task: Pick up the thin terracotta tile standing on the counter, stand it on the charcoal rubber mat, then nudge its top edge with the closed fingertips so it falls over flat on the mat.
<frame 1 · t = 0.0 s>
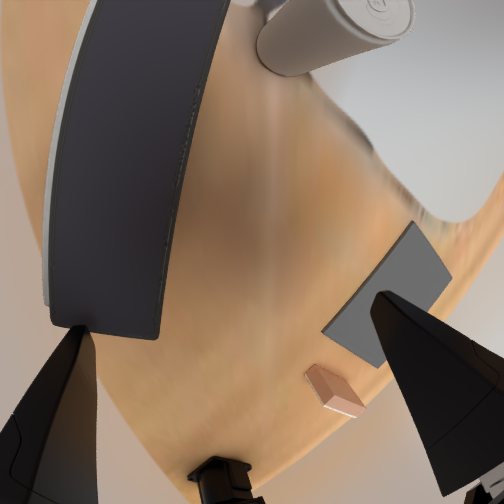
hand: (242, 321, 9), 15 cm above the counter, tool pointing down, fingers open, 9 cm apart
tile: (326, 376, 33), on the counter
beverage can: (284, 49, 21), on the counter
mat: (395, 302, 32), on the counter
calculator: (146, 142, 21), on the counter
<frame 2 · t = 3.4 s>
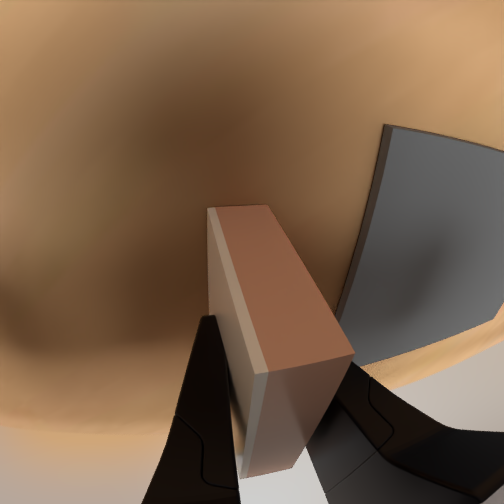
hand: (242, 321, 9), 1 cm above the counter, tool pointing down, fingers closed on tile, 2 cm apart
tile: (236, 292, 10), on the counter, touching gripper
mat: (467, 260, 13), on the counter
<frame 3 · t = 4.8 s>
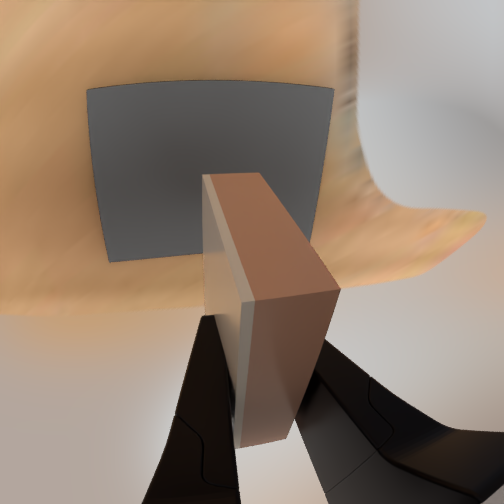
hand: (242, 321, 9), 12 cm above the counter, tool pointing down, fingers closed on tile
tile: (231, 261, 10), point 10 cm above the counter, touching gripper
mat: (212, 171, 19), on the counter
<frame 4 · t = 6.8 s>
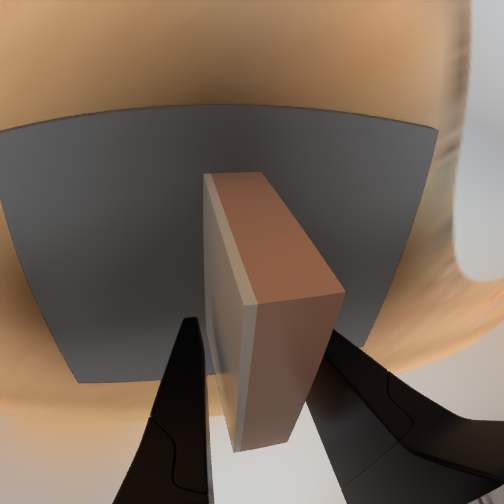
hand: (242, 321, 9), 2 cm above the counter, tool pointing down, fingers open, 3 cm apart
tile: (232, 261, 10), resting on mat
mat: (228, 271, 11), on the counter
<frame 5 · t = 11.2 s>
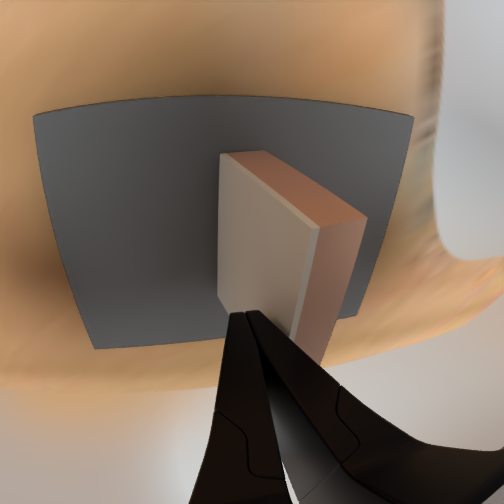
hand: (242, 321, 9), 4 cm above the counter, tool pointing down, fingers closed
tile: (240, 229, 12), point 1 cm above the counter, tilted 12°, touching mat
mat: (235, 237, 13), on the counter
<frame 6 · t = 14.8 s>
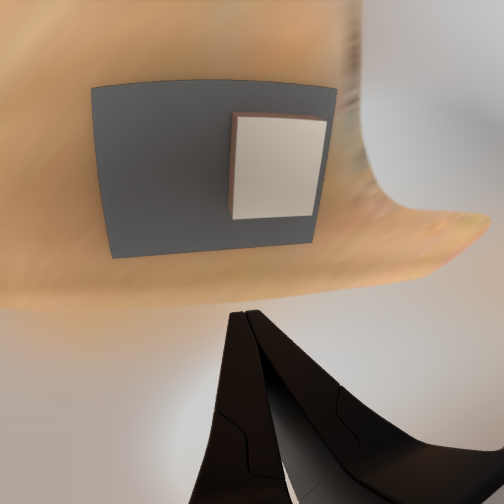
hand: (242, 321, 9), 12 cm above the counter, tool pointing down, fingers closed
tile: (232, 165, 18), point 1 cm above the counter, tilted 90°, touching mat
mat: (215, 170, 19), on the counter
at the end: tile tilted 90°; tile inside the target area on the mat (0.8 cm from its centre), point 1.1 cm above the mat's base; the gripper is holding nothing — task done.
